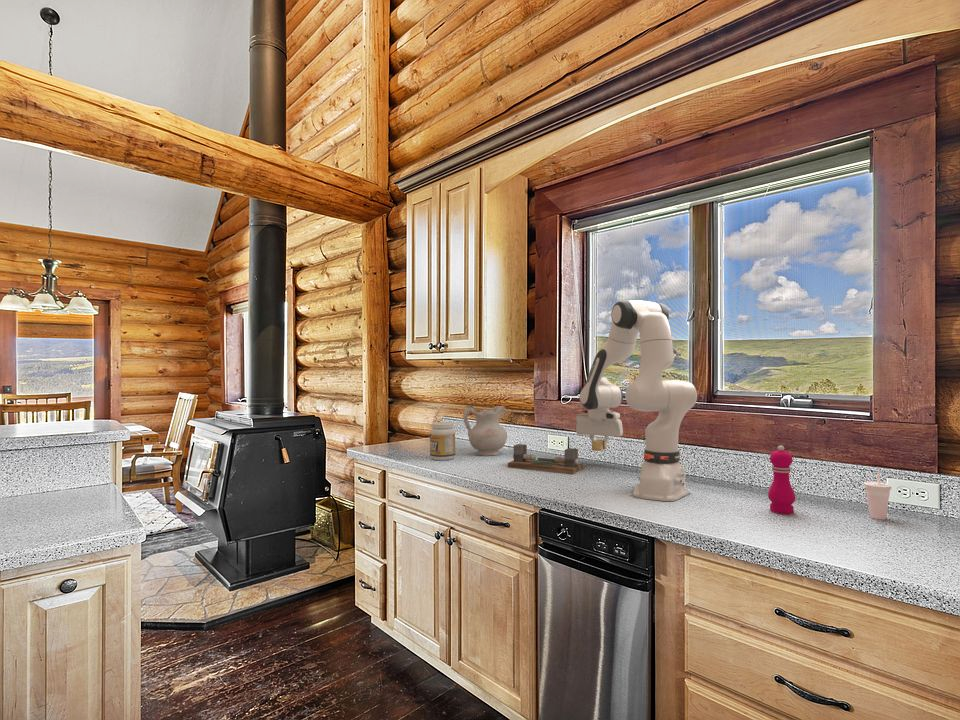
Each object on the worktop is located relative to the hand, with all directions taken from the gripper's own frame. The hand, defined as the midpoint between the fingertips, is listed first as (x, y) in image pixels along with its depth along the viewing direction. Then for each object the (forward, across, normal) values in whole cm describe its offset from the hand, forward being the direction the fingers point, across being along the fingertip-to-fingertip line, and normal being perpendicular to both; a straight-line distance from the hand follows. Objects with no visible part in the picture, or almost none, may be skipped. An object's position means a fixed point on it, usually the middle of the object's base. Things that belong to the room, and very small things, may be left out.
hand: (599, 445), depth 228 cm
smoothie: (+11, +93, -33) cm, 100 cm away
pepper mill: (+11, +69, -39) cm, 80 cm away
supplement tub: (+8, -72, -17) cm, 74 cm away
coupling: (+2, 0, 0) cm, 2 cm away
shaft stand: (+9, -20, -14) cm, 26 cm away
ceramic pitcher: (+8, -60, +3) cm, 60 cm away
